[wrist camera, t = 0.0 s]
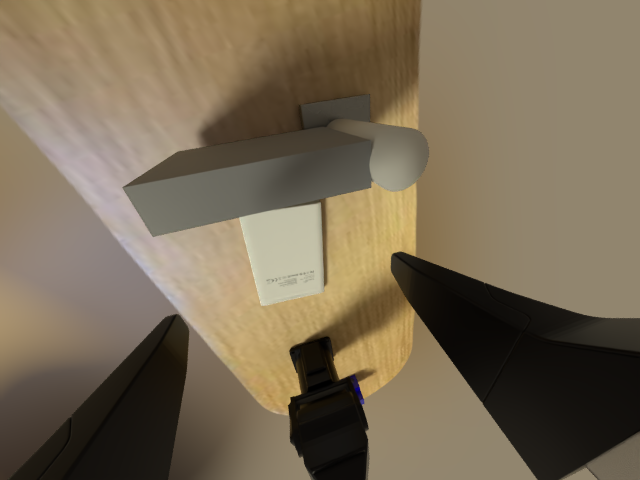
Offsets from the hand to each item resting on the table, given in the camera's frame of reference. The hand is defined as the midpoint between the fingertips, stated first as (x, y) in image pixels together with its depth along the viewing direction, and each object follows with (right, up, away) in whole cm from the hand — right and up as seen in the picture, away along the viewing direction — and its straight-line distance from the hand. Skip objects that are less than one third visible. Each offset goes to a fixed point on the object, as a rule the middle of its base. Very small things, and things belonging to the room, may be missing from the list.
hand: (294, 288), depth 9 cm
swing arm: (-3, +10, +10) cm, 14 cm away
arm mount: (+3, +12, +12) cm, 17 cm away
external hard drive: (-3, +1, +17) cm, 18 cm away
